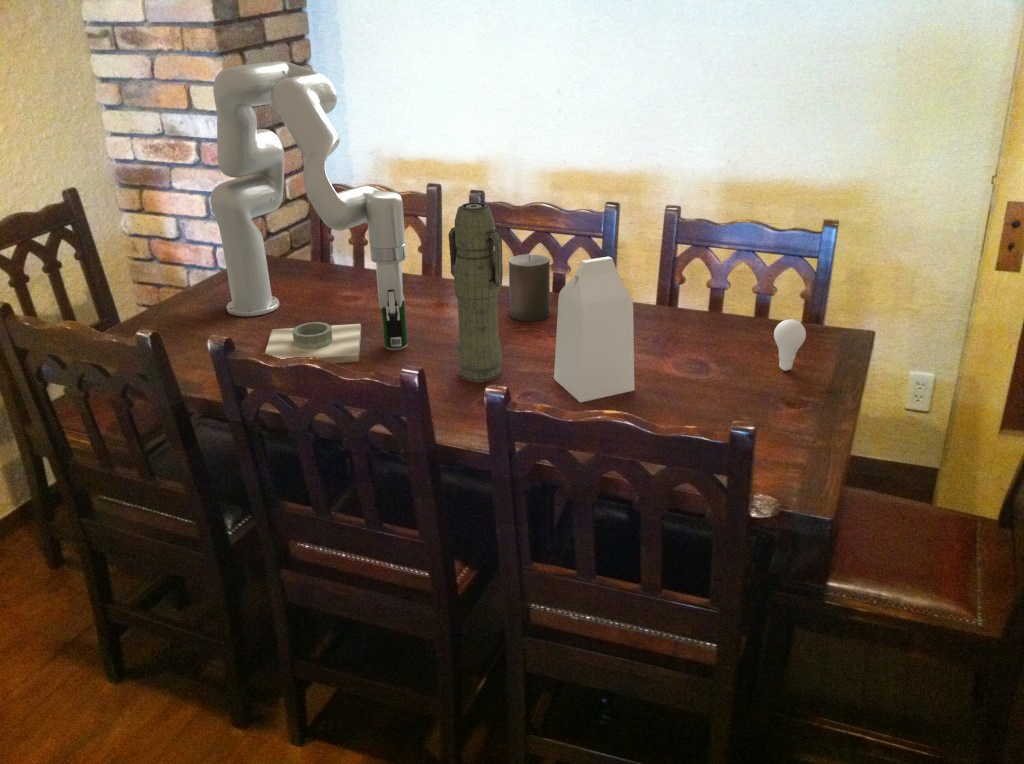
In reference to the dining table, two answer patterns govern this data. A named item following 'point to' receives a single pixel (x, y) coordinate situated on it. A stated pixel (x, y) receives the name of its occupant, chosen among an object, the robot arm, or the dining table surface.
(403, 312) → the beer can
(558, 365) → the milk
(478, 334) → the thermos
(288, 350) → the carrier plate
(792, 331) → the lightbulb
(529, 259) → the pillar candle
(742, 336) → the dining table surface
